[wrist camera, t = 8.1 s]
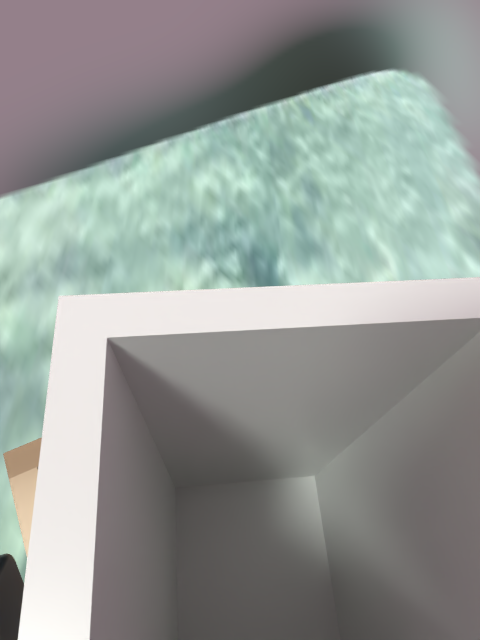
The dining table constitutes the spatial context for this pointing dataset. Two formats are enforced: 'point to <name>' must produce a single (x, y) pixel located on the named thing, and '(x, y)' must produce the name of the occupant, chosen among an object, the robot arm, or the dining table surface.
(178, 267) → the dining table surface
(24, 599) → the white square vase
